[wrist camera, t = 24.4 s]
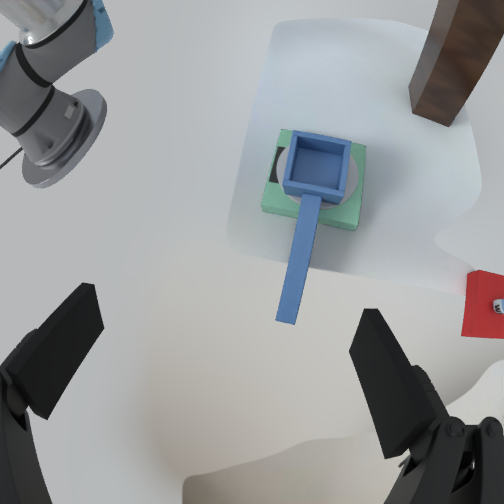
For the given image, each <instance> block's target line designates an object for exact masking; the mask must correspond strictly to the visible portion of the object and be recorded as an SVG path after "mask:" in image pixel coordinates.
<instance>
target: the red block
mask: <svg viewBox="0 0 504 504" xmlns="http://www.w3.org/2000/svg"><path fill="white" fill-rule="evenodd" d="M461 336H466V337H480V338H497V339H498V338H499V339H504V276H503V275H499V274H495V273H490V272H486V271H482V270H477V271H474V272H471V273H468V274H467V289H466V301H465V311H464V319H463V327H462V333H461Z"/></svg>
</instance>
